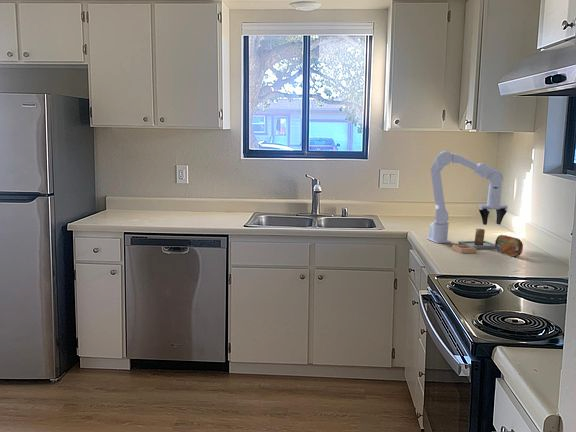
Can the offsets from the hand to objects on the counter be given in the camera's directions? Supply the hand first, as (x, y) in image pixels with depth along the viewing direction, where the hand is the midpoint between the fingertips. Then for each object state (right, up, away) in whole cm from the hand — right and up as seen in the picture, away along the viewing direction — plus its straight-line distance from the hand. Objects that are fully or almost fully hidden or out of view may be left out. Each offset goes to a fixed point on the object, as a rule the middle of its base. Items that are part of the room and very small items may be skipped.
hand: (491, 224), depth 273 cm
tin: (+2, -14, -16) cm, 21 cm away
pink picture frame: (-17, -12, -12) cm, 24 cm away
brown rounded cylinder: (-7, -10, -2) cm, 12 cm away
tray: (-7, -11, -1) cm, 13 cm away
